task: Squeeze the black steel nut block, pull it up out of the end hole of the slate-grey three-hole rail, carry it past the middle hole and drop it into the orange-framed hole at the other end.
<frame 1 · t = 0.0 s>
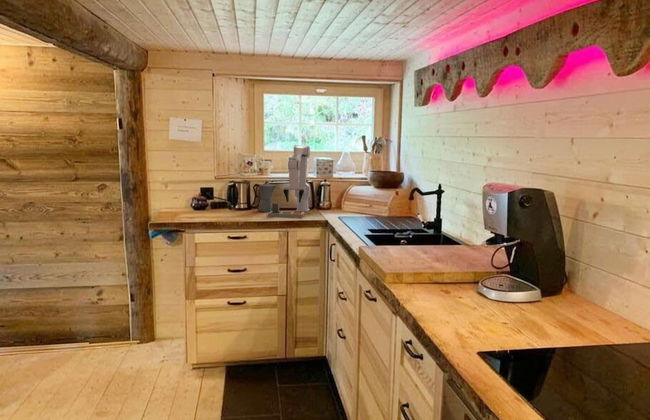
hand: (293, 202, 293), 10 cm above the worktop, fingers open, 7 cm apart
moka pot: (264, 211, 319), on the worktop
nut block: (275, 215, 303), resting in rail
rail: (286, 215, 302), on the worktop
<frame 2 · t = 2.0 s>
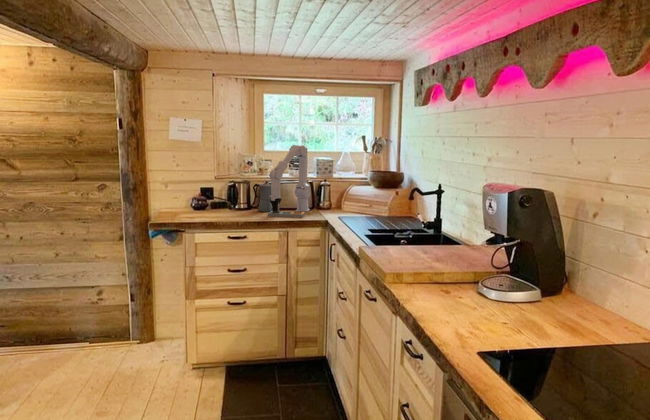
hand: (275, 210, 303), 3 cm above the worktop, fingers closed on nut block, 4 cm apart
nut block: (275, 215, 303), resting in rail, touching gripper
everything else where it was.
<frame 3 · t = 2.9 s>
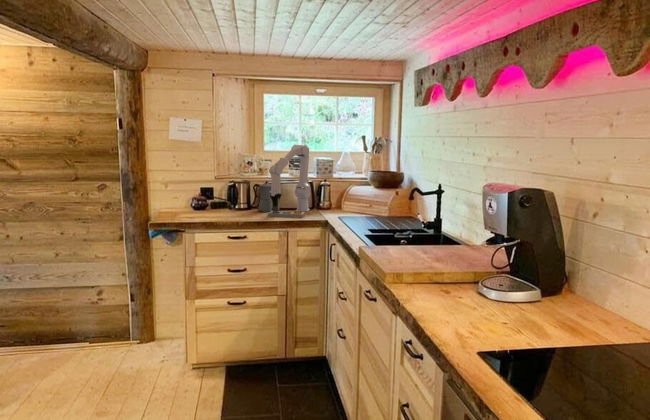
hand: (275, 205, 302), 6 cm above the worktop, fingers closed on nut block, 4 cm apart
nut block: (275, 211, 303), point 3 cm above the worktop, touching gripper
everything else where it was.
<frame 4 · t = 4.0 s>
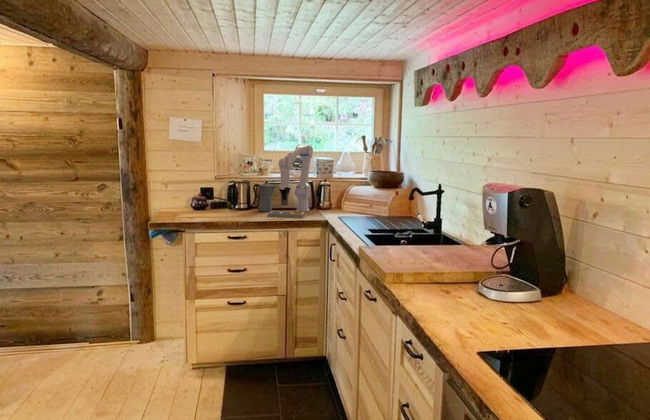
hand: (285, 199, 301), 10 cm above the worktop, fingers closed on nut block, 4 cm apart
nut block: (284, 204, 301), point 7 cm above the worktop, touching gripper
everything else where it was.
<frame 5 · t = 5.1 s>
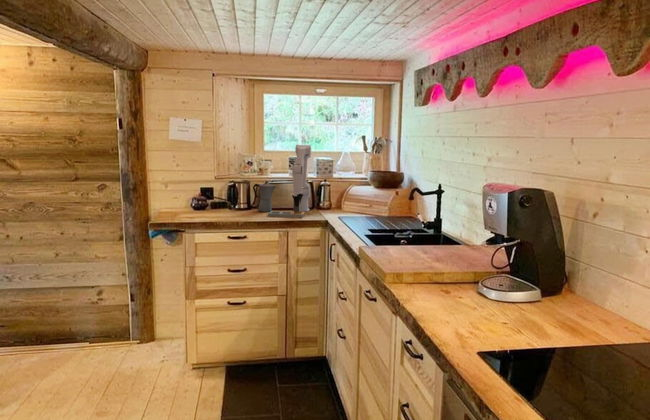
hand: (297, 206, 300), 7 cm above the worktop, fingers closed on nut block, 4 cm apart
nut block: (296, 211, 301), point 3 cm above the worktop, touching gripper
everything else where it was.
when the fingers open (4 cm above the worktop, at t = 5.9 s): nut block stays where it is, resting in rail.
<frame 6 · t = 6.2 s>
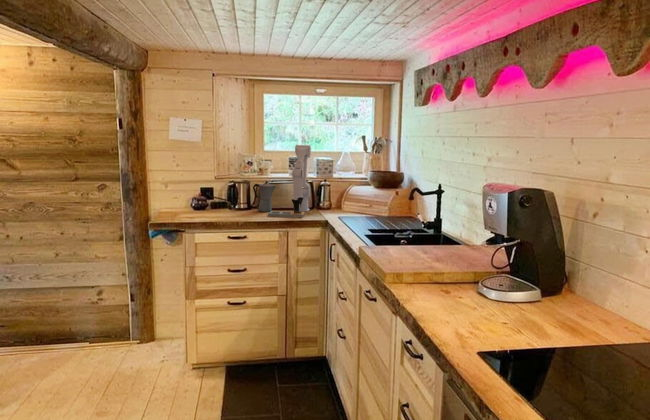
hand: (297, 209, 300), 4 cm above the worktop, fingers open, 6 cm apart
nut block: (296, 216, 301), resting in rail
everything else where it was.
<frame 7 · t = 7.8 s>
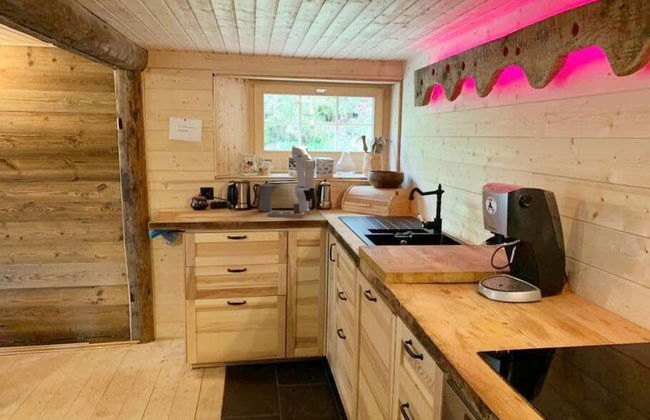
hand: (309, 200, 306), 9 cm above the worktop, fingers open, 7 cm apart
nothing on the worktop moved.
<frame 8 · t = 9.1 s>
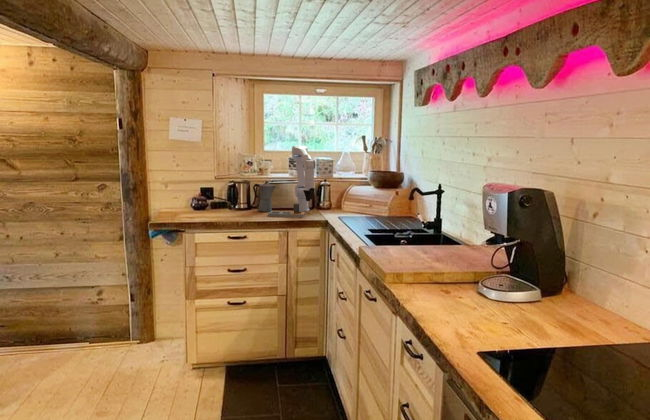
hand: (309, 200, 306), 9 cm above the worktop, fingers open, 7 cm apart
nothing on the worktop moved.
at the end: nut block 0.4 cm from the target spot on the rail, point 0.0 cm above the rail's base; the gripper is holding nothing; nut block tilted 0° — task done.
